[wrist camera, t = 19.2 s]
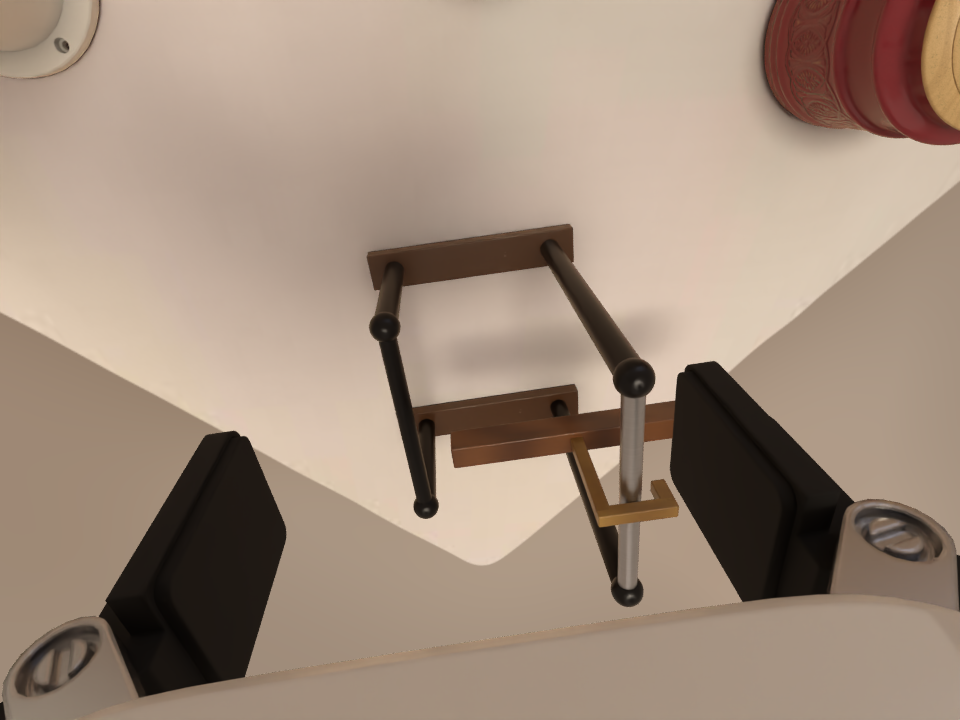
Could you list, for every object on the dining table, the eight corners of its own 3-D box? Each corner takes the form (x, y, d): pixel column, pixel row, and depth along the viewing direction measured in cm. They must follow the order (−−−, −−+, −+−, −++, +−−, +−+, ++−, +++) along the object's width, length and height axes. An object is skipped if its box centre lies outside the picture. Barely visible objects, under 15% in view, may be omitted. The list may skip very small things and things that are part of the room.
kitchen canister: (890, -138, 34) (1262, -300, 19) (964, 25, 39) (1304, 1, 24) (725, 33, 38) (921, 13, 23) (811, 161, 43) (1020, 214, 28)
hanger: (453, 449, 37) (457, 552, 29) (450, 431, 36) (453, 532, 28) (738, 410, 37) (818, 502, 29) (741, 391, 36) (824, 481, 28)
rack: (409, 433, 53) (397, 654, 33) (367, 252, 44) (316, 408, 24) (575, 408, 54) (662, 613, 34) (569, 223, 44) (684, 355, 24)
